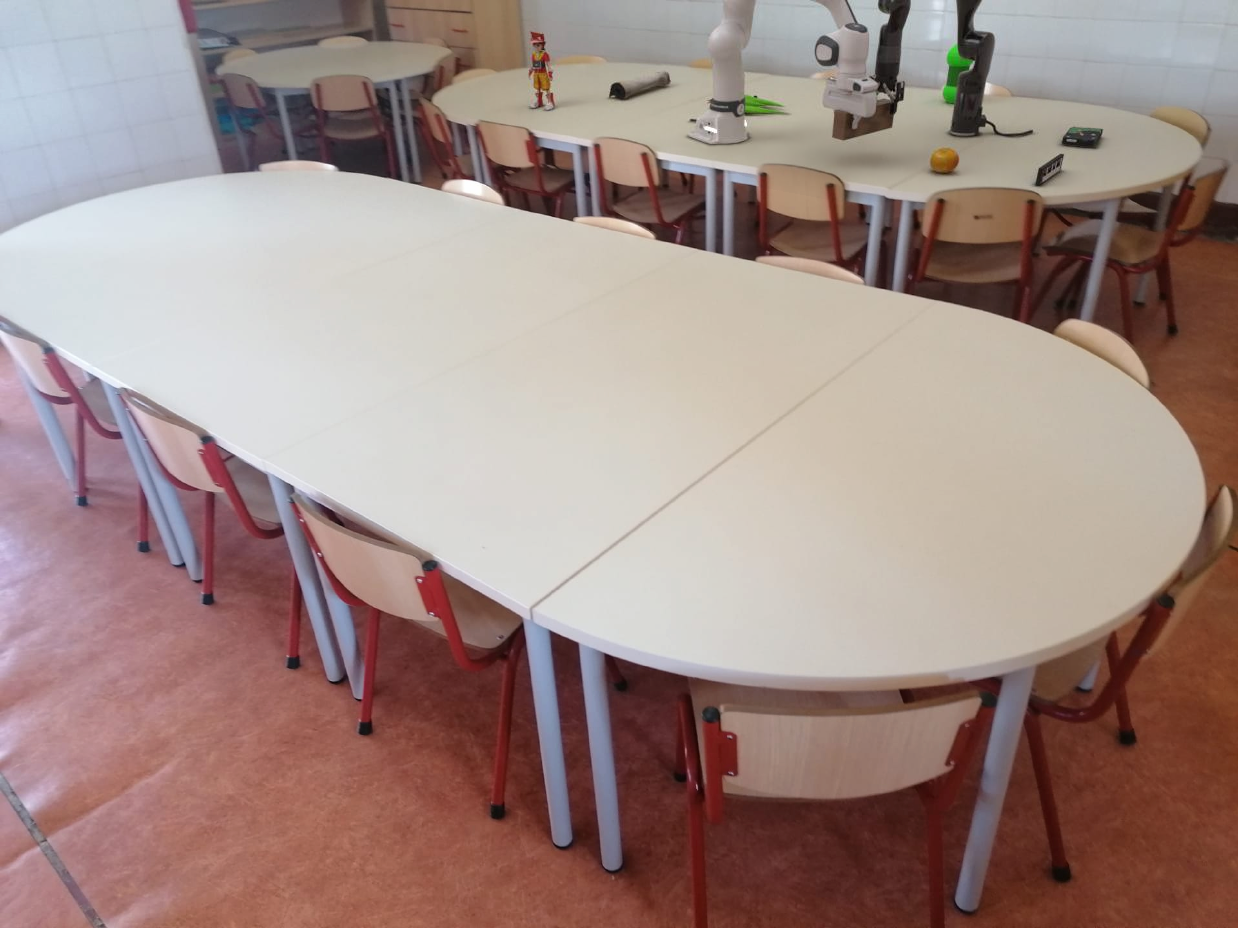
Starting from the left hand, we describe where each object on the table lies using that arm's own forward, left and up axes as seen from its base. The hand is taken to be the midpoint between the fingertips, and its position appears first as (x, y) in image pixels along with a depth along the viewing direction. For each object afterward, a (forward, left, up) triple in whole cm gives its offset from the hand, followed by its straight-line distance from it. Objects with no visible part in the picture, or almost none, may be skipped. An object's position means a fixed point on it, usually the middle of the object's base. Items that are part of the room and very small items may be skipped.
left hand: (846, 126), depth 290 cm
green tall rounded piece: (-14, +92, -12) cm, 94 cm away
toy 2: (-70, +36, -12) cm, 80 cm away
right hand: (+3, +16, +2) cm, 16 cm away
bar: (+1, +8, -3) cm, 9 cm away
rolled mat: (-132, +33, -12) cm, 136 cm away
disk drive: (+48, +69, -12) cm, 84 cm away
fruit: (+30, +12, -12) cm, 34 cm away
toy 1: (-147, -11, -12) cm, 148 cm away
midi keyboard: (+57, +26, -12) cm, 64 cm away
